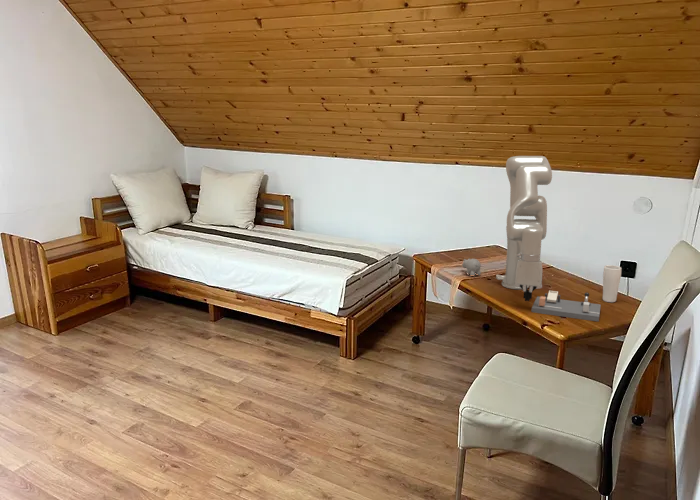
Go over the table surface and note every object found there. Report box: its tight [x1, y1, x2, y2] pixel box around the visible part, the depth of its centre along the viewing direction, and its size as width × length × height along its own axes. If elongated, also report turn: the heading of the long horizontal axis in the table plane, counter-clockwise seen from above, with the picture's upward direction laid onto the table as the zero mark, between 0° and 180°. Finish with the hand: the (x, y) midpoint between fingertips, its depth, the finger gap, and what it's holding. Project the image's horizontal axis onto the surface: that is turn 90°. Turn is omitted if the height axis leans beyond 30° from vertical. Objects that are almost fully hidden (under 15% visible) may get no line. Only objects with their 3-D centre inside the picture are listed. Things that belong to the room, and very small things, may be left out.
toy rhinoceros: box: [461, 257, 482, 276], centre depth 271 cm, size 7×12×8 cm, turn 22°
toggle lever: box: [584, 292, 590, 302], centre depth 221 cm, size 2×2×5 cm
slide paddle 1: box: [539, 295, 546, 306], centre depth 220 cm, size 2×3×3 cm, turn 154°
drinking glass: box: [602, 264, 622, 303], centre depth 230 cm, size 7×7×15 cm
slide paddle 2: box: [583, 301, 589, 312], centre depth 213 cm, size 2×3×3 cm, turn 154°
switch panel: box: [531, 292, 602, 322], centre depth 220 cm, size 25×15×5 cm, turn 64°
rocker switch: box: [547, 290, 559, 302], centre depth 226 cm, size 4×7×1 cm, turn 154°
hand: (527, 300), depth 223 cm, fingers closed
